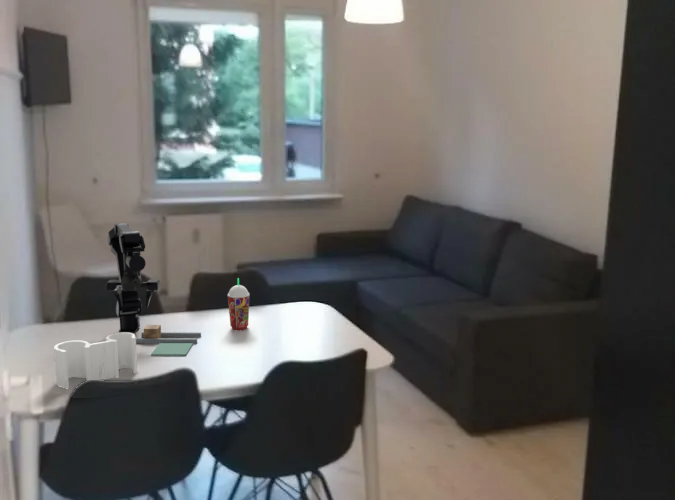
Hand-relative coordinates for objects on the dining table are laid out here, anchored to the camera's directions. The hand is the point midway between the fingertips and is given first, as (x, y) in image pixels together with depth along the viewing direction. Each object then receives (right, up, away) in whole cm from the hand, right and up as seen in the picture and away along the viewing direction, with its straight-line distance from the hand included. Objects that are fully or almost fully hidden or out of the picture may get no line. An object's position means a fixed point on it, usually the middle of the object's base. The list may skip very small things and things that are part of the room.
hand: (134, 307), depth 272 cm
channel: (+12, -12, +2) cm, 17 cm away
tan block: (+6, -12, +2) cm, 14 cm away
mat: (+16, -14, -10) cm, 24 cm away
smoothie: (+36, -9, +15) cm, 41 cm away
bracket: (-2, -20, -35) cm, 41 cm away
